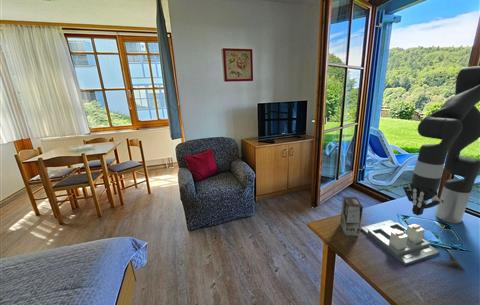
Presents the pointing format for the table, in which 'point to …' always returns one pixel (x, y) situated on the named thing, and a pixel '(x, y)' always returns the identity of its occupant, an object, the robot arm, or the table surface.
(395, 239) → the tab
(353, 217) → the coffee box
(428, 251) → the white slotted board
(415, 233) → the tab
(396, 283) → the table surface
